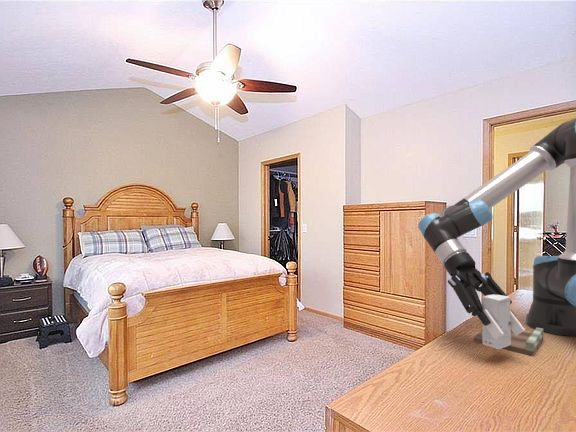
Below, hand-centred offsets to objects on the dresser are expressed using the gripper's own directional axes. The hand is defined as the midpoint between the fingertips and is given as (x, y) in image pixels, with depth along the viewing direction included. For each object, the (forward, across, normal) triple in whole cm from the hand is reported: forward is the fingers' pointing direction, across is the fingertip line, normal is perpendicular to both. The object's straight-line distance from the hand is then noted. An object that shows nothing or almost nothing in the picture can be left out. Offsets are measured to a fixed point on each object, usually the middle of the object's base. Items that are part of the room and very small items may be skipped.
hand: (509, 334), depth 84 cm
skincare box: (0, 0, -5) cm, 5 cm away
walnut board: (-3, -14, -13) cm, 20 cm away
